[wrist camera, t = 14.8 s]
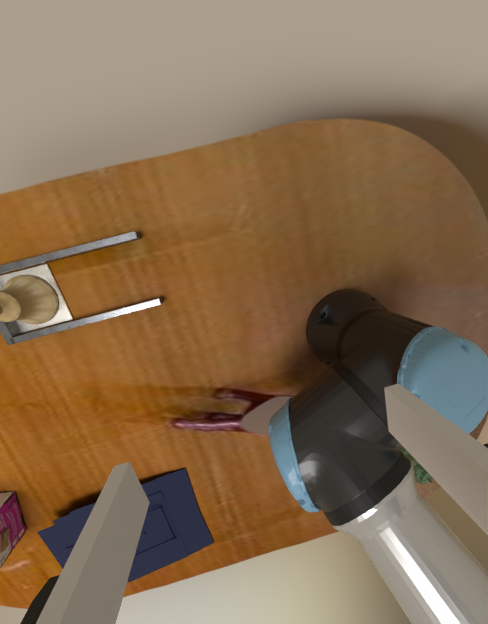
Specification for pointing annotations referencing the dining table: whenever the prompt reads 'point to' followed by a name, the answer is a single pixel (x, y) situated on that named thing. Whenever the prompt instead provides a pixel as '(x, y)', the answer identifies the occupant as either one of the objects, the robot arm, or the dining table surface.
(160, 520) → the navy serving tray
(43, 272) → the guide channel
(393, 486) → the robot arm
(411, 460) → the decorative artifact
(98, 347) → the dining table surface
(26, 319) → the hand bell
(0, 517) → the candy bar box
